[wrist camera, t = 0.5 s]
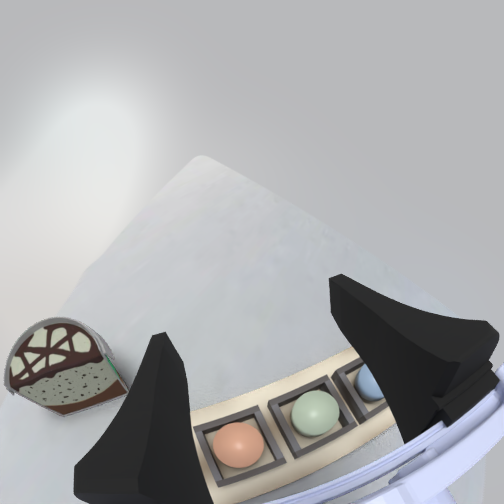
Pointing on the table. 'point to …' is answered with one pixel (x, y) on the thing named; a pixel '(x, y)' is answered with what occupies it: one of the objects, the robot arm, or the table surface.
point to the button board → (288, 429)
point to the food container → (63, 367)
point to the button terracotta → (238, 445)
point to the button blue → (367, 385)
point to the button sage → (314, 413)
